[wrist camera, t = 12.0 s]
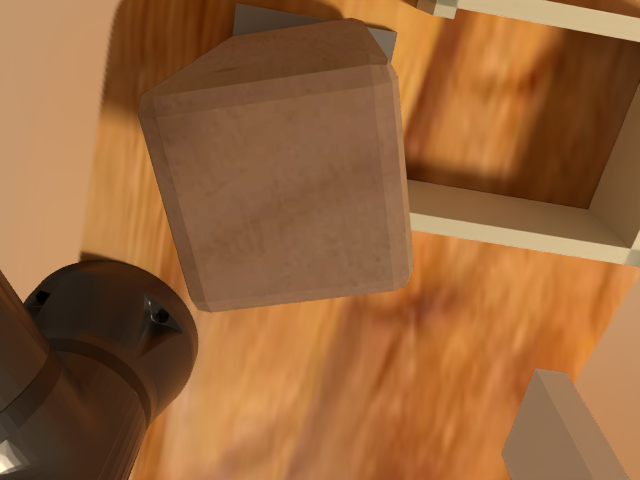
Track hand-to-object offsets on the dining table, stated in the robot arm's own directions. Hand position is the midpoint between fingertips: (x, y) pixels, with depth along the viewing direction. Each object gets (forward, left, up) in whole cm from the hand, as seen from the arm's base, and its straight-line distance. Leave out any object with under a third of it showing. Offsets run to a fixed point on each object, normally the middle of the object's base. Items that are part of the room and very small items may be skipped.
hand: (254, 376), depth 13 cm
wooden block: (0, 0, -30) cm, 30 cm away
